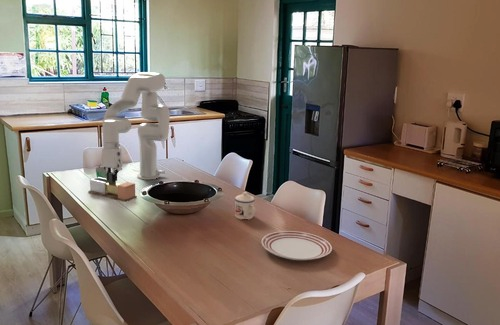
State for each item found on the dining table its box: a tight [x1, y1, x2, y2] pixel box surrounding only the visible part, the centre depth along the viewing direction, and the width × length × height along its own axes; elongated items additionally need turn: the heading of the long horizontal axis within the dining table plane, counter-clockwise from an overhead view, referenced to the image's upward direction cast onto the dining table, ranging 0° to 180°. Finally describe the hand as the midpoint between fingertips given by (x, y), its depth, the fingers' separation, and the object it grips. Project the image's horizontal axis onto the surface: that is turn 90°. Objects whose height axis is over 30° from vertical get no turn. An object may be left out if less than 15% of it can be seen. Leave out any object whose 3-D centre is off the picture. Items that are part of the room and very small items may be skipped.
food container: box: [95, 165, 107, 179], centre depth 258 cm, size 12×6×10 cm, turn 179°
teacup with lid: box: [234, 191, 256, 220], centre depth 215 cm, size 12×9×12 cm
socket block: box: [118, 181, 136, 200], centre depth 234 cm, size 5×7×6 cm
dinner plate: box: [261, 230, 333, 261], centre depth 184 cm, size 27×27×3 cm
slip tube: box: [105, 171, 121, 195], centre depth 236 cm, size 14×4×10 cm, turn 62°
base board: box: [87, 190, 138, 203], centre depth 239 cm, size 25×8×1 cm, turn 62°
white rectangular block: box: [89, 176, 109, 194], centre depth 241 cm, size 10×6×6 cm, turn 62°
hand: (112, 180), depth 237 cm, fingers closed on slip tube, 2 cm apart
